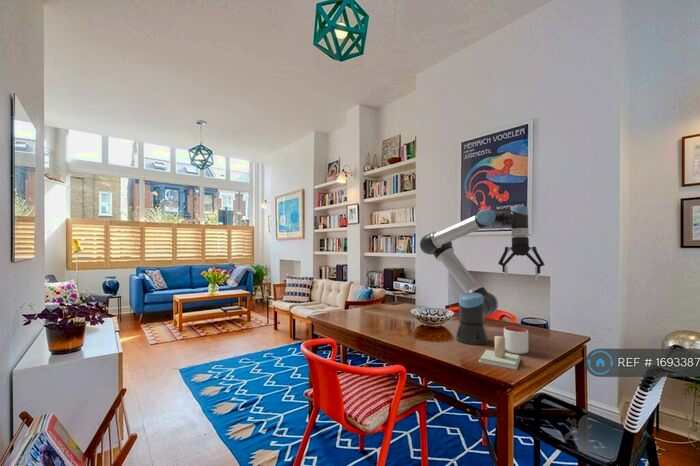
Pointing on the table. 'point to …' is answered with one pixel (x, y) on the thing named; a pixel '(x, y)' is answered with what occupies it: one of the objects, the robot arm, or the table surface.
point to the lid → (500, 354)
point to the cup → (516, 340)
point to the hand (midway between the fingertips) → (521, 279)
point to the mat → (502, 365)
